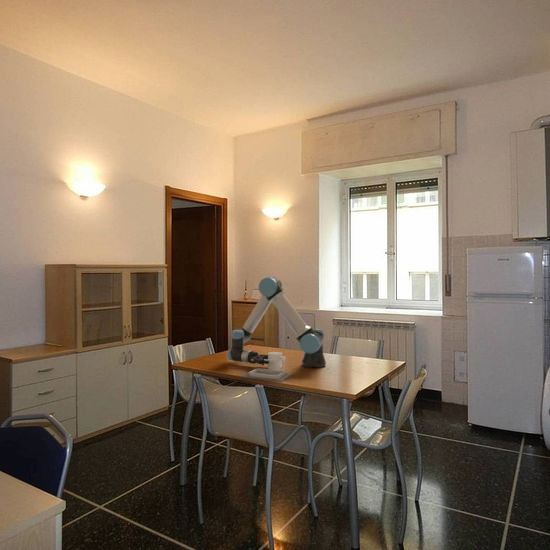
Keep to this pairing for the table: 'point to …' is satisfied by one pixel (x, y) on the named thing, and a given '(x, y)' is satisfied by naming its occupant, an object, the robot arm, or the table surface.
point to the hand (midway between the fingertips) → (280, 361)
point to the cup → (276, 360)
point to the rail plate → (267, 375)
